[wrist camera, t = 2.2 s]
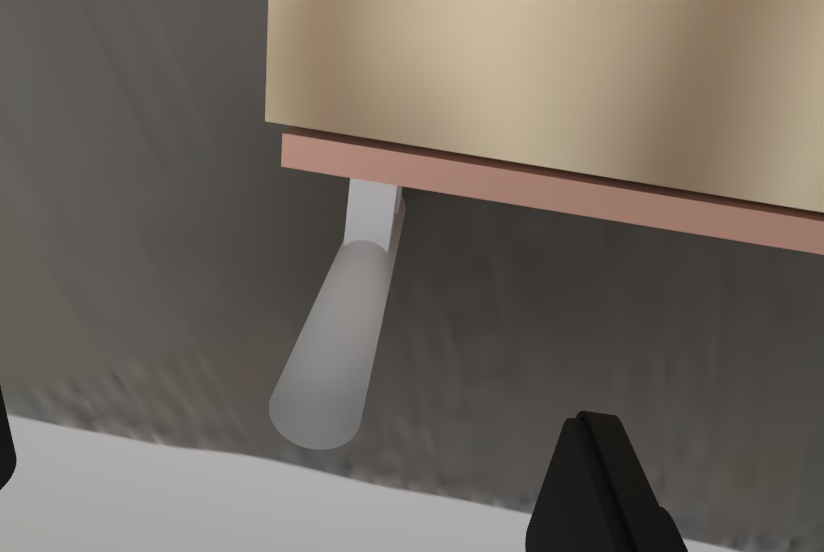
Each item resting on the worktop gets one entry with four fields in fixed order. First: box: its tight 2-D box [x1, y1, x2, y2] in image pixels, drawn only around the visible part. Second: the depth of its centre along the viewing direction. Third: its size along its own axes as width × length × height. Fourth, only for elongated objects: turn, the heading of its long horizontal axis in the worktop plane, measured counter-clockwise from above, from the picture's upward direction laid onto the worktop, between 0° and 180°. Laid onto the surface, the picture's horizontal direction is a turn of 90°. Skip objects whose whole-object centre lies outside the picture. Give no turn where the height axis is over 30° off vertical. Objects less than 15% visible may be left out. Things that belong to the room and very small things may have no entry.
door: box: [269, 126, 824, 450], centre depth 15 cm, size 20×4×15 cm, turn 81°
